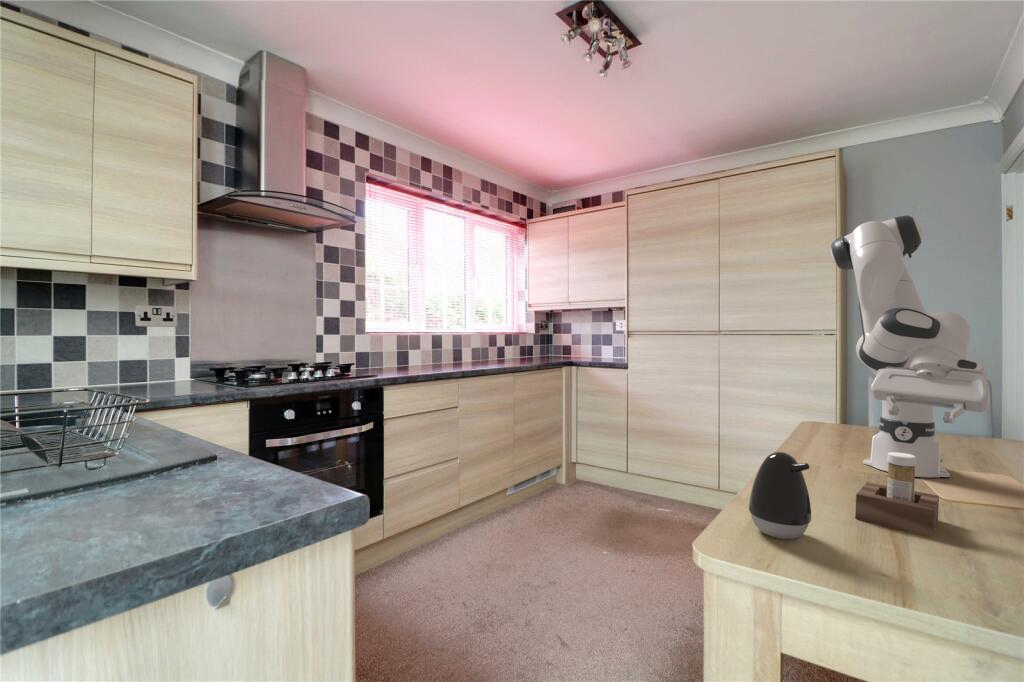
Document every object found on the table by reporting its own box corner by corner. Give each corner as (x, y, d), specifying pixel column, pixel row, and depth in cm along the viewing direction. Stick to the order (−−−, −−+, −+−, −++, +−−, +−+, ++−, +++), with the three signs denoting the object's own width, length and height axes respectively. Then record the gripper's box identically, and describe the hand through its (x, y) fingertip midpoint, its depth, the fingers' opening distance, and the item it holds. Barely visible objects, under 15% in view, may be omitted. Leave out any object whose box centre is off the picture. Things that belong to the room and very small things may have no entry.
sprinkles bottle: (917, 521, 99) (920, 455, 99) (908, 526, 97) (911, 458, 96) (890, 514, 103) (892, 450, 103) (881, 518, 100) (883, 453, 100)
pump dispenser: (785, 549, 85) (788, 462, 84) (735, 527, 94) (738, 448, 94) (824, 541, 89) (828, 457, 88) (773, 519, 98) (776, 444, 98)
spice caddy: (866, 504, 109) (866, 481, 109) (937, 520, 100) (938, 495, 100) (855, 518, 100) (856, 494, 100) (932, 537, 92) (934, 510, 92)
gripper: (876, 357, 119) (860, 400, 113) (994, 365, 103) (981, 416, 97) (881, 374, 122) (865, 418, 116) (996, 384, 106) (984, 435, 100)
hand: (919, 417), depth 107 cm, fingers open, 8 cm apart
